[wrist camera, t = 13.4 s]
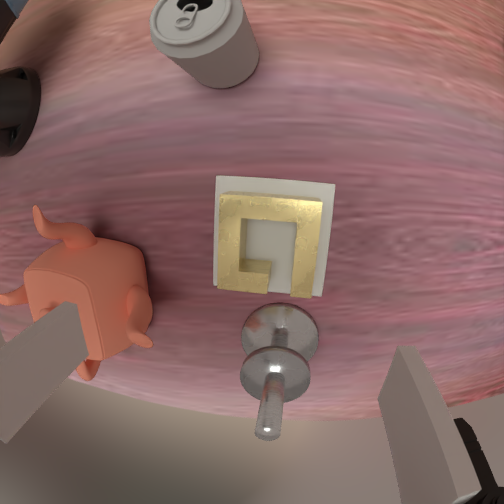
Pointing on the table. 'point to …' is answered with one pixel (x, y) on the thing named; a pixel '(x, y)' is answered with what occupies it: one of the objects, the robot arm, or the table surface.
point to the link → (235, 234)
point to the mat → (278, 228)
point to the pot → (89, 289)
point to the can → (206, 39)
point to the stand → (277, 361)
